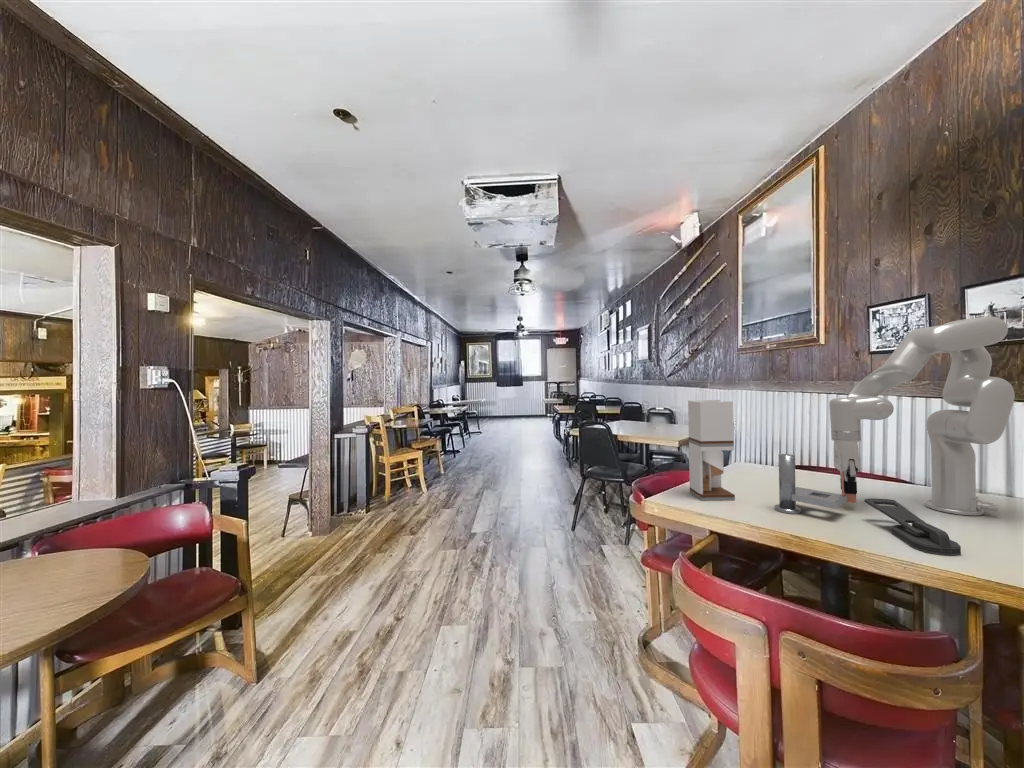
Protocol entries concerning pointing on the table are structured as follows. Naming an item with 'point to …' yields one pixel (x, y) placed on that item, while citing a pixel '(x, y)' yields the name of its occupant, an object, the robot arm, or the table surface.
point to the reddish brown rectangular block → (850, 497)
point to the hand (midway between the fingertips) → (848, 491)
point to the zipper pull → (916, 529)
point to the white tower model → (709, 447)
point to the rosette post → (800, 490)
